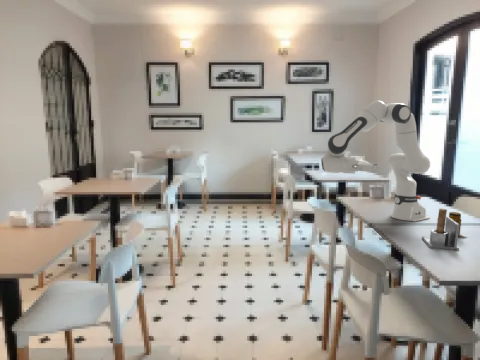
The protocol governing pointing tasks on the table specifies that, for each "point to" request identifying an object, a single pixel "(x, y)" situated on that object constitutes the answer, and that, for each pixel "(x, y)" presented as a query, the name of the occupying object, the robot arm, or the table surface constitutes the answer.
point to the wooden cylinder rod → (441, 220)
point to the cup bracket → (444, 237)
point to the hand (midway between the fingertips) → (378, 166)
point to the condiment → (457, 219)
